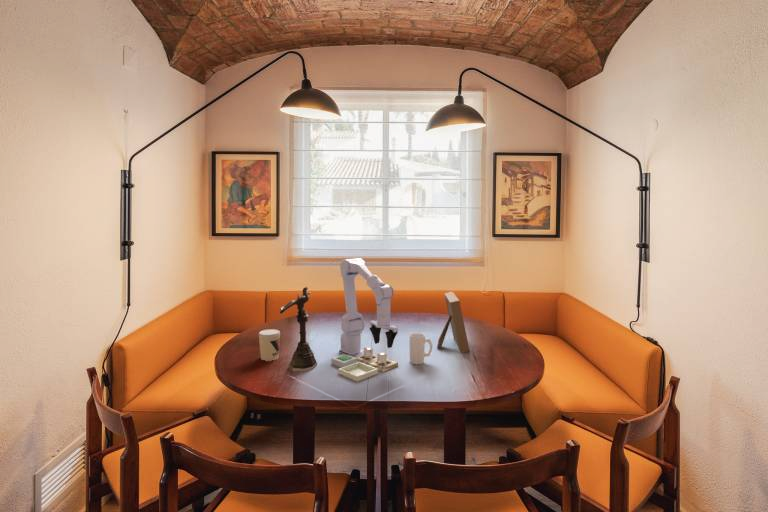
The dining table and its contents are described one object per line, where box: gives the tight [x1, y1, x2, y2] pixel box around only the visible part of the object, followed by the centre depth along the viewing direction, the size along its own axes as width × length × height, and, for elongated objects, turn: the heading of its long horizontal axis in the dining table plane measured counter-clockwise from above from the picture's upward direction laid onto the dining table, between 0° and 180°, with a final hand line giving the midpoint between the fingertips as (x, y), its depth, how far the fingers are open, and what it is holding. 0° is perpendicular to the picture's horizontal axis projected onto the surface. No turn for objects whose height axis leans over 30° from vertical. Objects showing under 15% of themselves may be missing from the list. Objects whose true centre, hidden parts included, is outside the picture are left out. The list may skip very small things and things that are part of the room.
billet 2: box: [376, 351, 388, 366], centre depth 173 cm, size 4×4×6 cm
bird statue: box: [279, 286, 318, 373], centre depth 171 cm, size 17×13×35 cm
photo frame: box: [436, 291, 470, 354], centre depth 203 cm, size 15×22×25 cm
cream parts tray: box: [354, 353, 399, 373], centre depth 177 cm, size 18×9×2 cm, turn 46°
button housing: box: [331, 353, 357, 368], centre depth 176 cm, size 8×8×3 cm
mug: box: [409, 332, 433, 365], centre depth 180 cm, size 10×7×12 cm, turn 82°
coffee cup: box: [258, 328, 281, 362], centre depth 183 cm, size 9×9×12 cm
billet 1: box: [363, 346, 374, 360], centre depth 180 cm, size 4×4×6 cm
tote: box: [338, 362, 379, 382], centre depth 166 cm, size 11×11×2 cm
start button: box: [339, 355, 350, 361], centre depth 176 cm, size 4×4×3 cm
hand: (383, 345), depth 174 cm, fingers open, 7 cm apart
